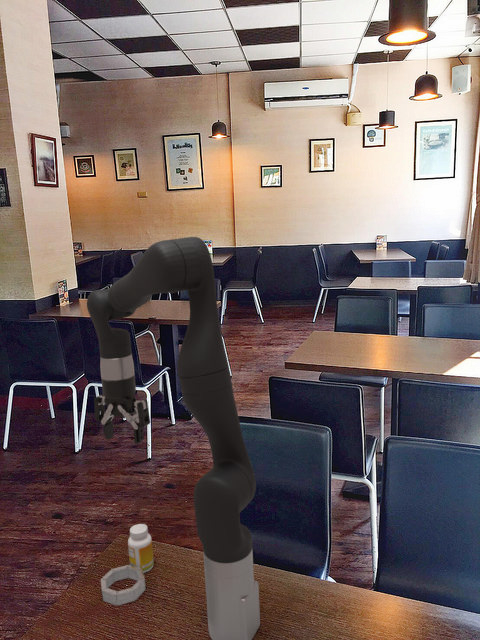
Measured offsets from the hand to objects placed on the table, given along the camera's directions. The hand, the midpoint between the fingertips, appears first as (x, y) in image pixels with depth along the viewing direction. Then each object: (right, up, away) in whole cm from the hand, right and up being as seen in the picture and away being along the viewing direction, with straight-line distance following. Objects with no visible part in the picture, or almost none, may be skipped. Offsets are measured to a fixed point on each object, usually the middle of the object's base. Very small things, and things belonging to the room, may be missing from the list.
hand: (124, 440), depth 121 cm
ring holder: (+2, -30, -10) cm, 32 cm away
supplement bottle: (+5, -29, -2) cm, 29 cm away
